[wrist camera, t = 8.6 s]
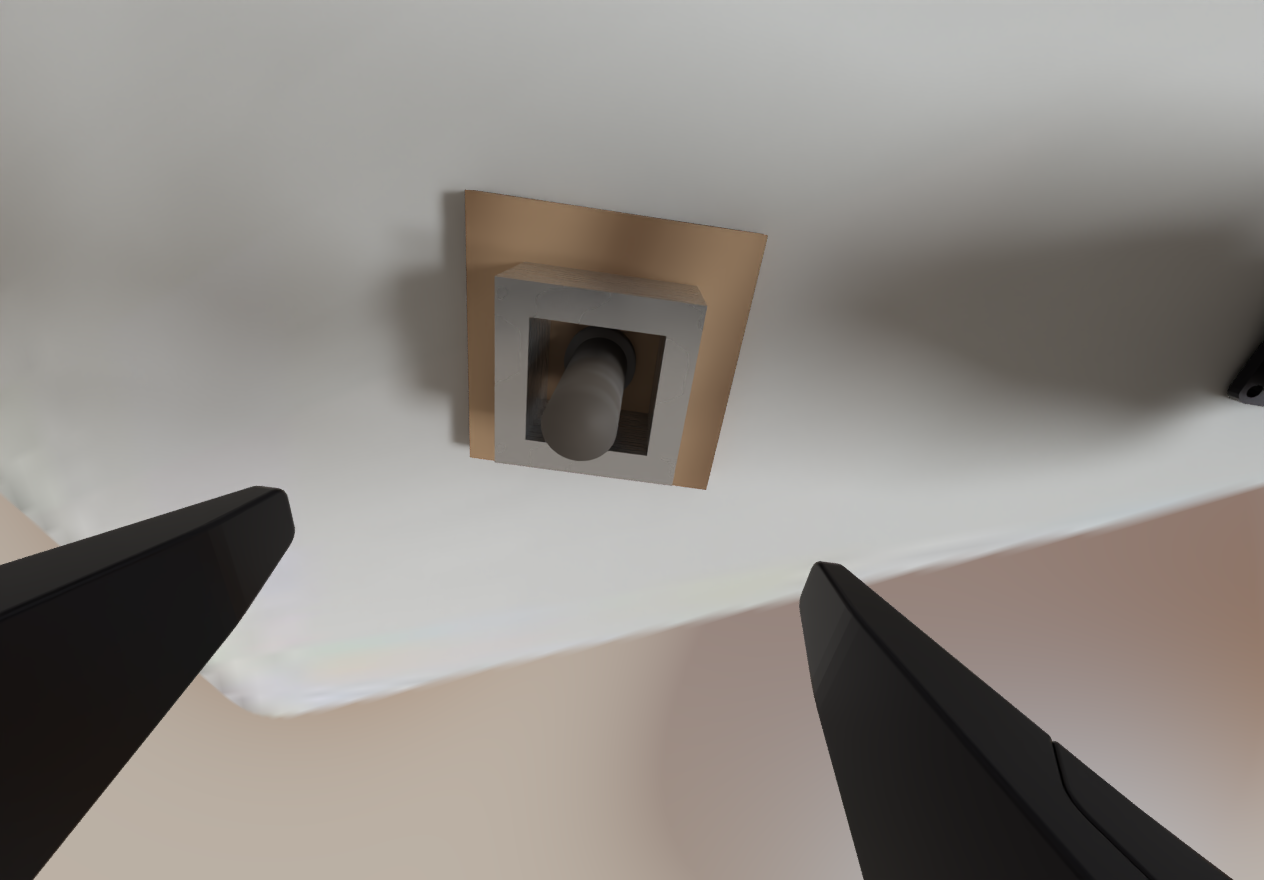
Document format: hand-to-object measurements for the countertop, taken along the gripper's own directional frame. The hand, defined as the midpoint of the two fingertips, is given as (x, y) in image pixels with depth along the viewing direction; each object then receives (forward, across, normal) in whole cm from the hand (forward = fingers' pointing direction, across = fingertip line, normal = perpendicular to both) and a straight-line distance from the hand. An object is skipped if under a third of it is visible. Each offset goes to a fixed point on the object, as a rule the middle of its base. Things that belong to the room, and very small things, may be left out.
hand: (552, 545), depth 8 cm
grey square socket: (+11, 0, 0) cm, 11 cm away
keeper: (+12, 0, 0) cm, 12 cm away
